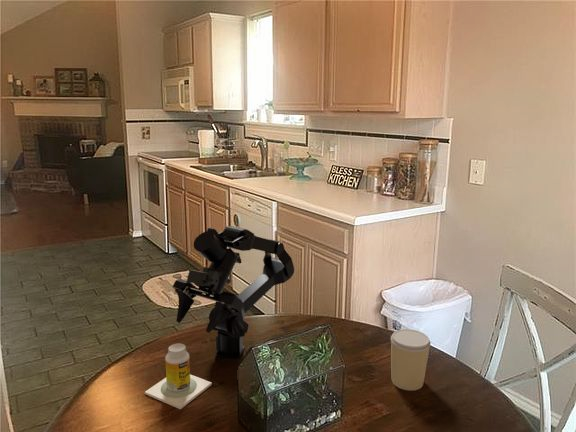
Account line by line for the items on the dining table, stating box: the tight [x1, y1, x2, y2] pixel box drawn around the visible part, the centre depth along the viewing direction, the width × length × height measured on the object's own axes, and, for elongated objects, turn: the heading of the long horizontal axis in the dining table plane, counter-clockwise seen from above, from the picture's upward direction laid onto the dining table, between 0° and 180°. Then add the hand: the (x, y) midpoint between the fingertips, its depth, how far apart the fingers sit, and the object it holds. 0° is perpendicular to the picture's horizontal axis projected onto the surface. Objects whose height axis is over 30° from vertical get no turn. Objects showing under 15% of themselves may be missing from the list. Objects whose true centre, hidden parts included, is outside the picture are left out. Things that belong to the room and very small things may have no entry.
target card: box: [144, 373, 213, 410], centre depth 113 cm, size 11×11×1 cm
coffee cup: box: [390, 328, 431, 391], centre depth 116 cm, size 9×9×12 cm
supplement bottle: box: [164, 342, 191, 392], centre depth 112 cm, size 6×6×10 cm
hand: (192, 327), depth 114 cm, fingers open, 9 cm apart
